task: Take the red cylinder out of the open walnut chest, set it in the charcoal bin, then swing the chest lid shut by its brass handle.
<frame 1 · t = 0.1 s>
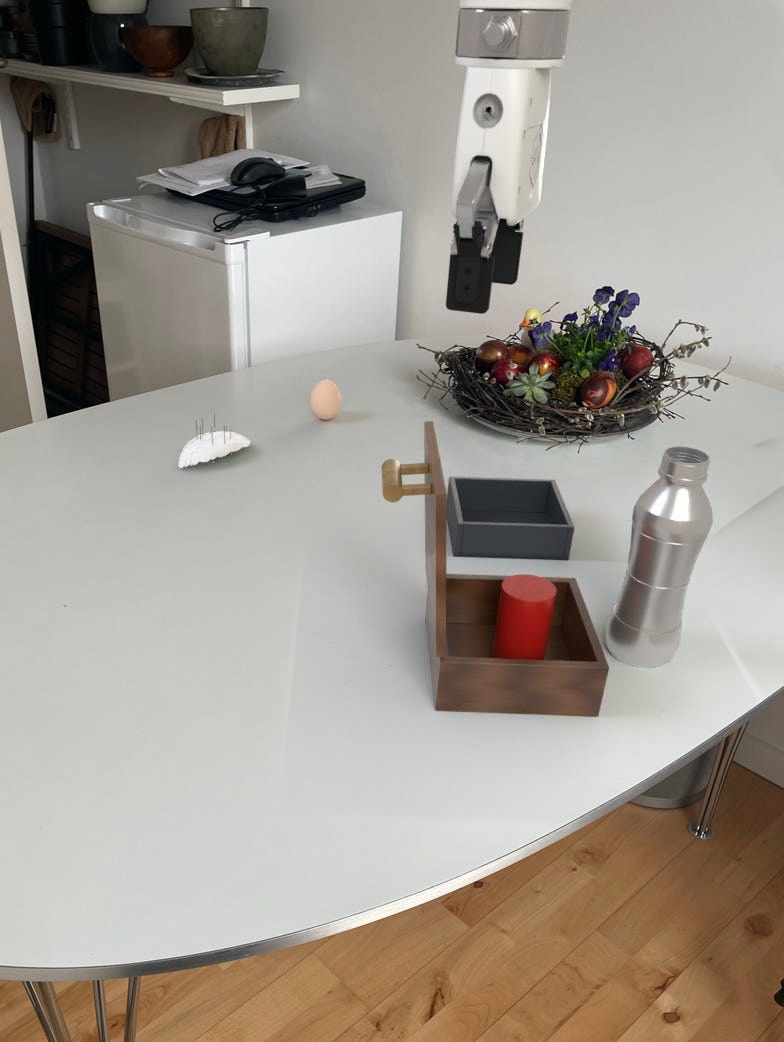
hand: (482, 295, 77), 31 cm above the table, tool pointing down, fingers open, 9 cm apart
silver metal bottle: (636, 659, 90), on the table
chest: (504, 671, 88), on the table
lid: (411, 537, 81), point 13 cm above the table, hinge at 95.0°
red cylinder: (516, 664, 87), point 1 cm above the table, touching chest
egg: (325, 420, 140), on the table
bin: (503, 536, 109), on the table
pincushion: (215, 458, 128), on the table
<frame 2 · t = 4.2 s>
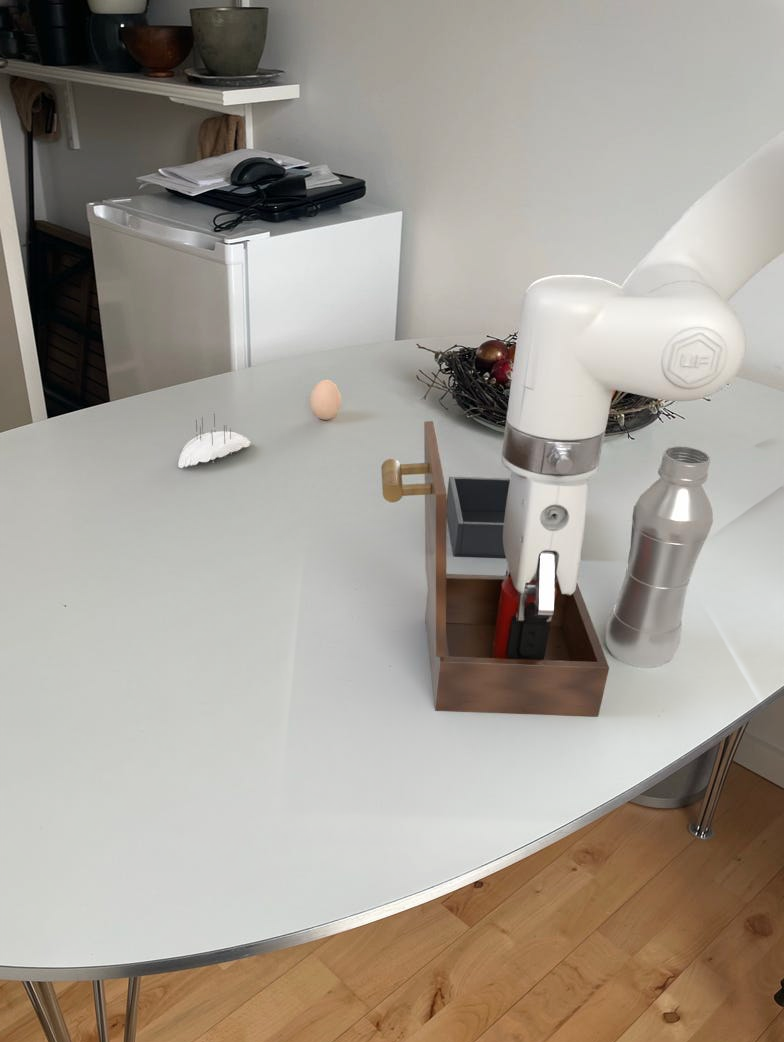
hand: (520, 638, 86), 4 cm above the table, tool pointing down, fingers closed on red cylinder, 4 cm apart
red cylinder: (516, 664, 87), point 1 cm above the table, touching chest, gripper
everything else where it was.
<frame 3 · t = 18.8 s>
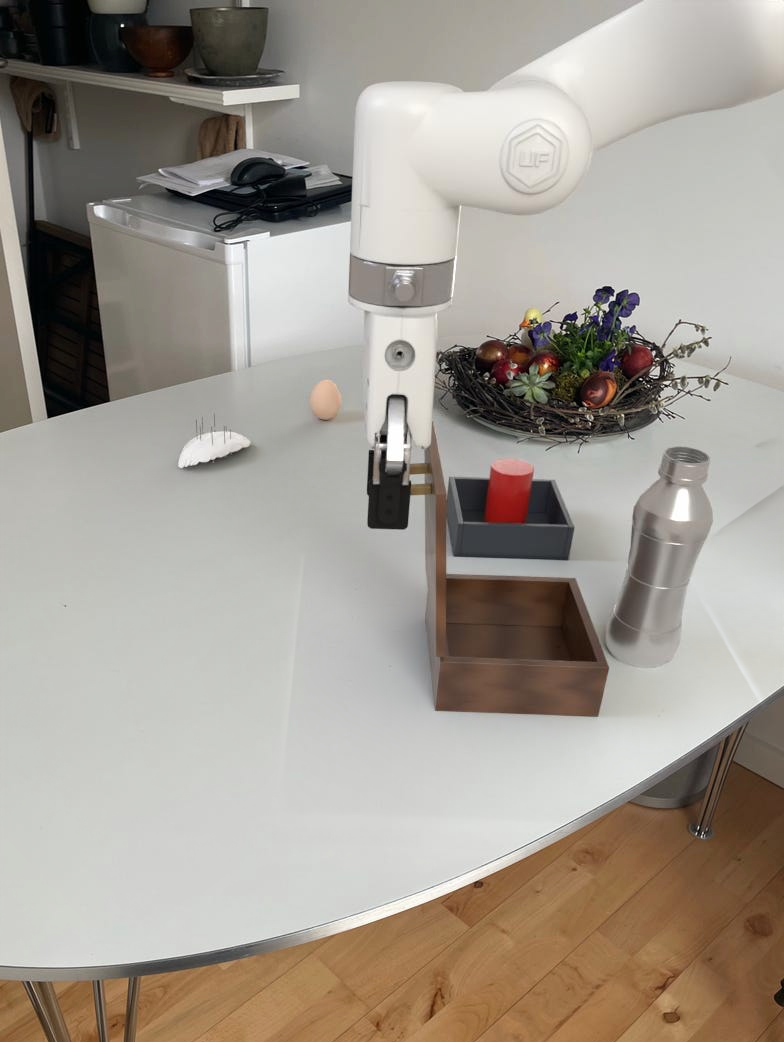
hand: (386, 509, 79), 16 cm above the table, tool pointing down, fingers closed on lid, 5 cm apart
lid: (411, 537, 81), point 13 cm above the table, hinge at 95.0°, touching gripper
red cylinder: (503, 532, 109), resting on bin
everything else where it was.
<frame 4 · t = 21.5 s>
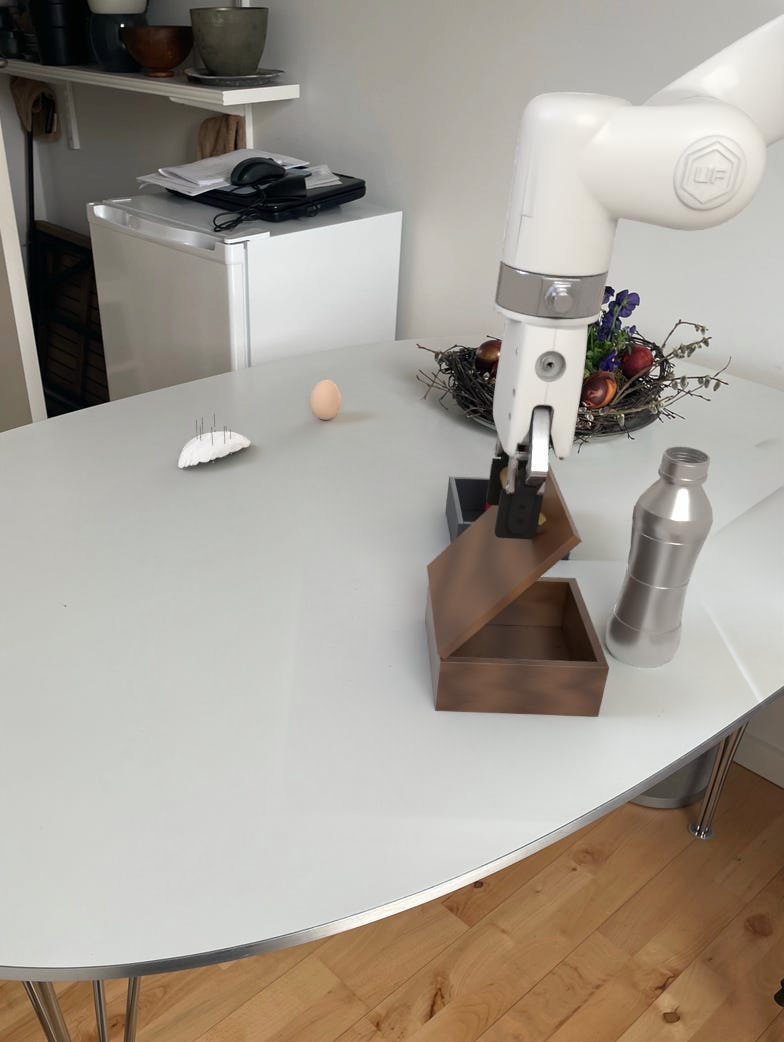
hand: (509, 518, 79), 15 cm above the table, tool pointing down, fingers closed on lid, 5 cm apart
lid: (479, 541, 80), point 13 cm above the table, hinge at 50.3°, touching gripper
everything else where it was.
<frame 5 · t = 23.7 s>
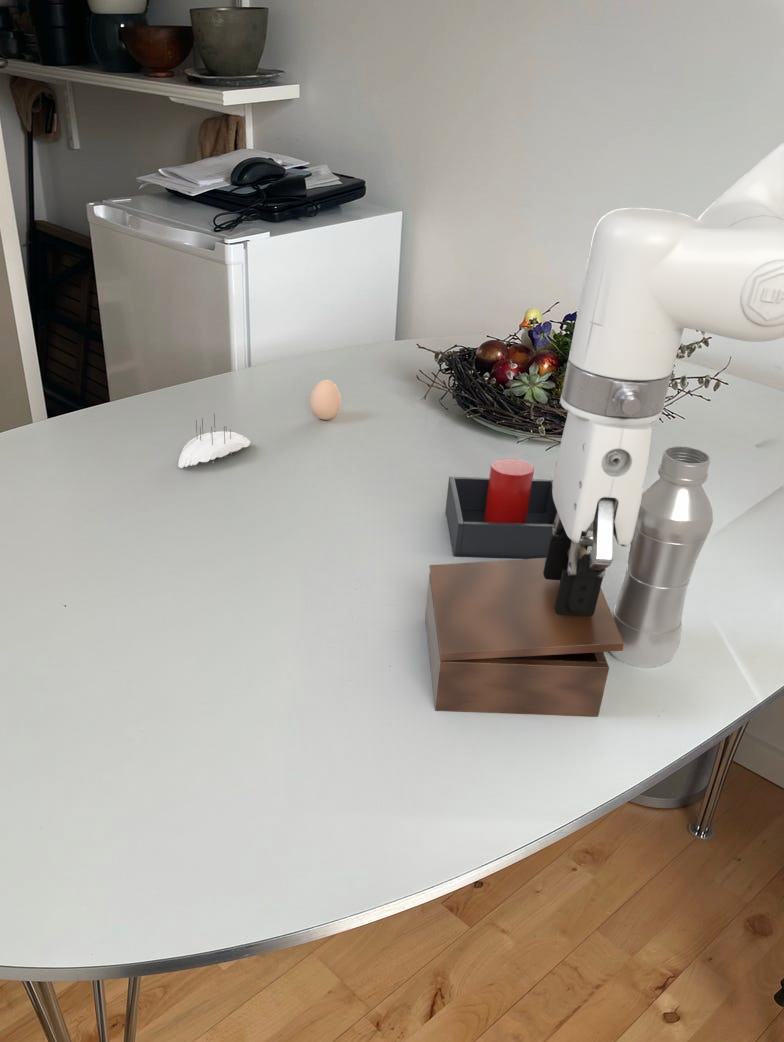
hand: (567, 593, 83), 8 cm above the table, tool pointing down, fingers closed on lid, 5 cm apart
lid: (519, 585, 83), point 9 cm above the table, hinge at 6.4°, touching gripper
everything else where it was.
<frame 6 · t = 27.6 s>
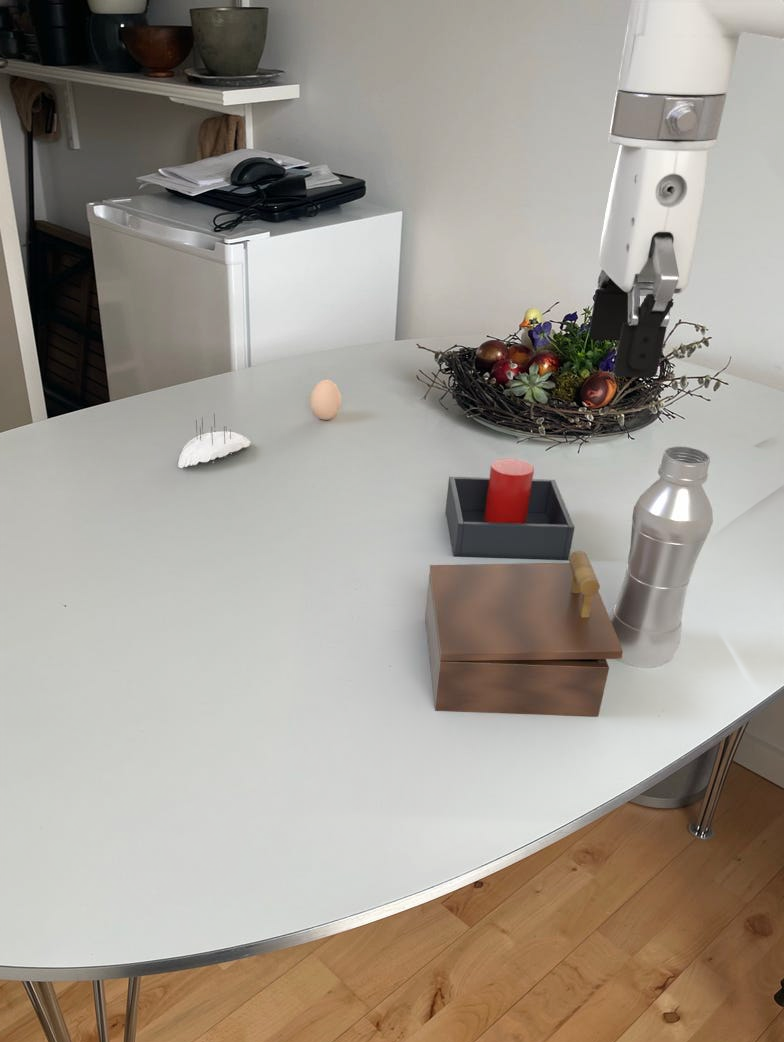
hand: (620, 356, 79), 26 cm above the table, tool pointing down, fingers open, 9 cm apart
lid: (520, 589, 83), point 9 cm above the table, hinge at 3.4°
everything else where it was.
at the end: red cylinder inside the target area in the bin (0.1 cm from its centre), point 0.5 cm above the bin's base; red cylinder tilted 0°; lid at +3° (first picture: +95°) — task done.
